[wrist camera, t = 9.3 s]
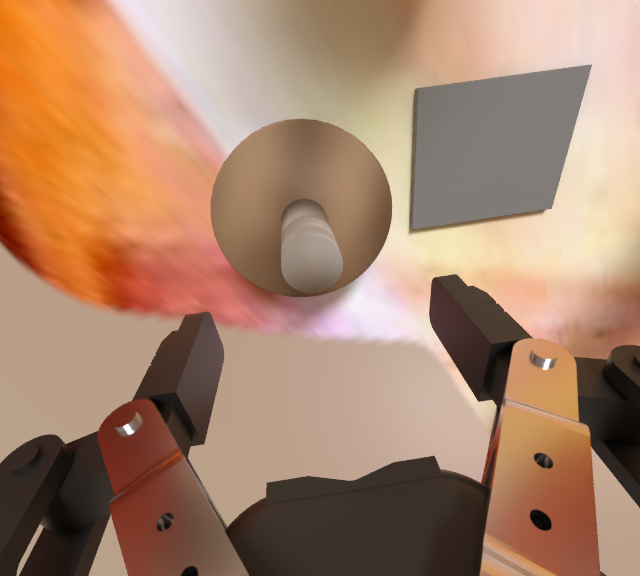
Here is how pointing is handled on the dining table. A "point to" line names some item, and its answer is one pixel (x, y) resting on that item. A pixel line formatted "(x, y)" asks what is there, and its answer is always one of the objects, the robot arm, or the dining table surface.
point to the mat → (492, 145)
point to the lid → (301, 208)
